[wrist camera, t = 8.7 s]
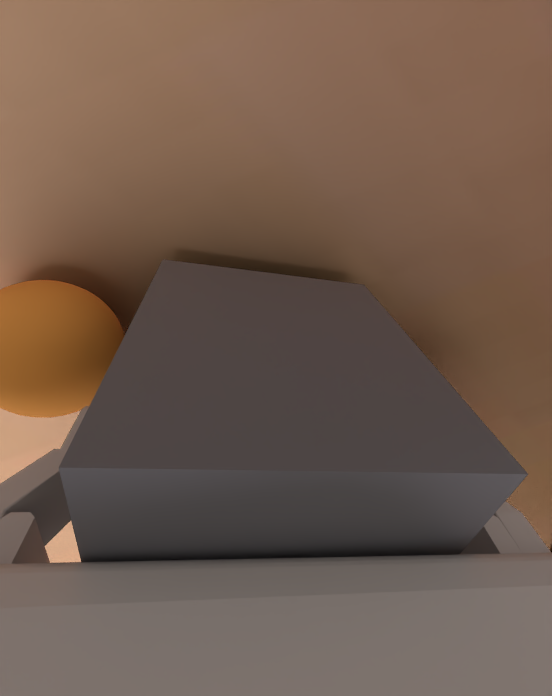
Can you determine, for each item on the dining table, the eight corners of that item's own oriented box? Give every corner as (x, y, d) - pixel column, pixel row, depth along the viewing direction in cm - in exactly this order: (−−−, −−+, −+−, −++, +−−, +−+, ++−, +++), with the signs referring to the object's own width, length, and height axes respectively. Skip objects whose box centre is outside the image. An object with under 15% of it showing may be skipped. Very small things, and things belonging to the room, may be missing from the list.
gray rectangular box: (363, 284, 13) (528, 473, 6) (318, 424, 17) (384, 641, 10) (163, 259, 12) (58, 468, 5) (163, 417, 16) (106, 666, 9)
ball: (40, 339, 9) (-111, 287, 10) (64, 467, 11) (-56, 418, 12) (151, 283, 13) (41, 250, 14) (151, 385, 16) (58, 353, 16)
